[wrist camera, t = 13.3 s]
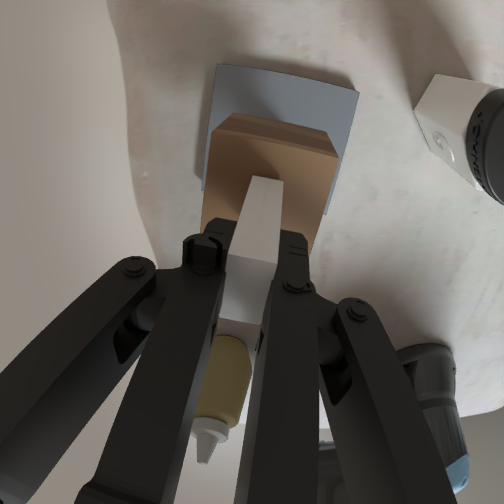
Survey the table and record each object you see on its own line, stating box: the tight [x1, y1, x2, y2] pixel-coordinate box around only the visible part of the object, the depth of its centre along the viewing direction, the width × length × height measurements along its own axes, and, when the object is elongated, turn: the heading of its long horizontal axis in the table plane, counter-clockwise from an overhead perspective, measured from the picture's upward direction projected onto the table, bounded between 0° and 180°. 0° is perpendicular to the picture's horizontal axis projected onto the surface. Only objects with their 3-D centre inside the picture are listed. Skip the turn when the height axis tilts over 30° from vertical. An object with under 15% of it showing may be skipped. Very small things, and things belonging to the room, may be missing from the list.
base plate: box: [201, 64, 360, 215], centre depth 27 cm, size 12×12×2 cm
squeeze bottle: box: [190, 335, 252, 464], centre depth 37 cm, size 8×8×18 cm
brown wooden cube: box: [200, 112, 339, 257], centre depth 18 cm, size 6×6×6 cm
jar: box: [414, 74, 504, 205], centre depth 18 cm, size 9×8×12 cm
